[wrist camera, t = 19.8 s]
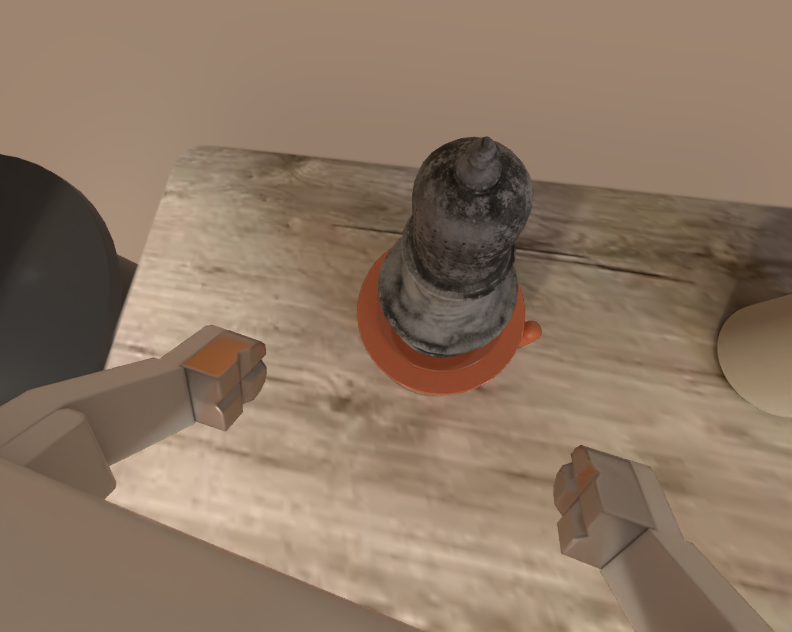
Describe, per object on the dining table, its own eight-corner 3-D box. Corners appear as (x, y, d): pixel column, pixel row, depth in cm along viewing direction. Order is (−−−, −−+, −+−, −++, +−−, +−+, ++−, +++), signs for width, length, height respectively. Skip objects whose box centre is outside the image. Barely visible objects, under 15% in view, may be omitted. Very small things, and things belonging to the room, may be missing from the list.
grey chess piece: (418, 384, 17) (425, 352, 6) (365, 285, 19) (282, 94, 7) (520, 329, 18) (727, 190, 6) (461, 236, 19) (534, -25, 7)
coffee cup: (364, 385, 26) (339, 378, 18) (384, 272, 28) (371, 217, 20) (507, 409, 25) (553, 414, 17) (517, 290, 27) (564, 241, 19)
